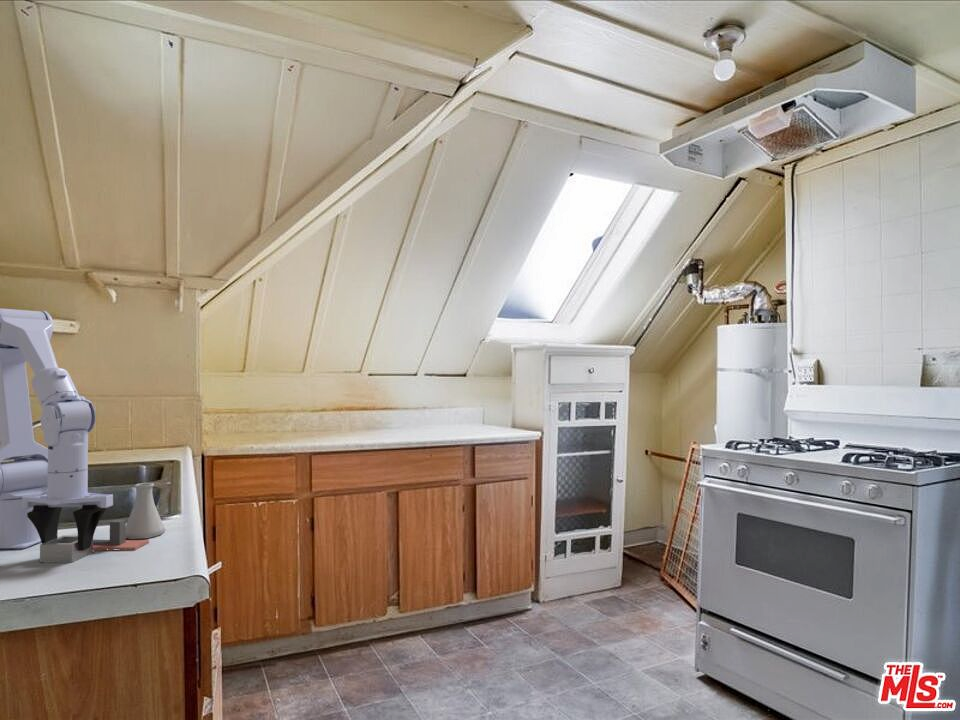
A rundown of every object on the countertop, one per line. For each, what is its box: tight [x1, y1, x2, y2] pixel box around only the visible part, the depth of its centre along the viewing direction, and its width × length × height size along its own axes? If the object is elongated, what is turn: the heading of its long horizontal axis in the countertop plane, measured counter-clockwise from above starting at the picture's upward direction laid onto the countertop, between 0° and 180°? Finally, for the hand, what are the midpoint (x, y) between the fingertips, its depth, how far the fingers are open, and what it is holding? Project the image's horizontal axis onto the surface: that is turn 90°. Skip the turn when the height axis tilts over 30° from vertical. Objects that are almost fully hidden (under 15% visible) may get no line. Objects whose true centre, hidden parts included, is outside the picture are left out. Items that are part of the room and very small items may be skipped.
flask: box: [126, 482, 166, 540], centre depth 114 cm, size 7×7×10 cm
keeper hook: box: [93, 519, 150, 551], centre depth 107 cm, size 10×4×5 cm, turn 90°
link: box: [39, 534, 94, 563], centre depth 101 cm, size 5×5×3 cm
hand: (67, 549), depth 101 cm, fingers closed on link, 5 cm apart
